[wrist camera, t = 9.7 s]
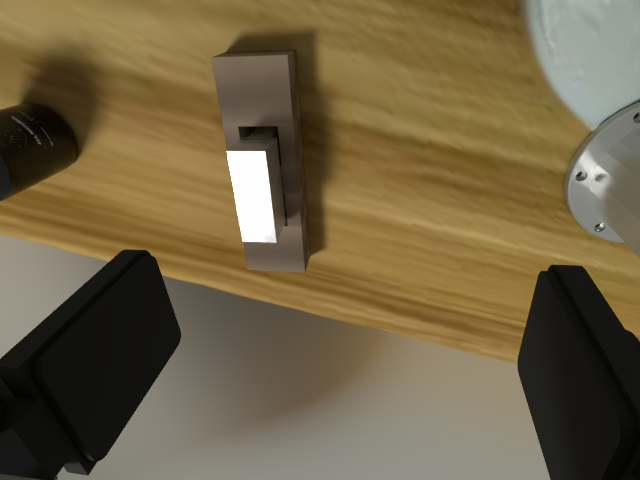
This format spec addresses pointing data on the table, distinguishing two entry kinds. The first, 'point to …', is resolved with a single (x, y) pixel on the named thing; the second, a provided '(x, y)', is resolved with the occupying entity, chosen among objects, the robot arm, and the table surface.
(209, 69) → the table surface
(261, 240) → the grey boxy piece
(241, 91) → the rail
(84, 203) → the table surface
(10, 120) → the supplement bottle
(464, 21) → the table surface
